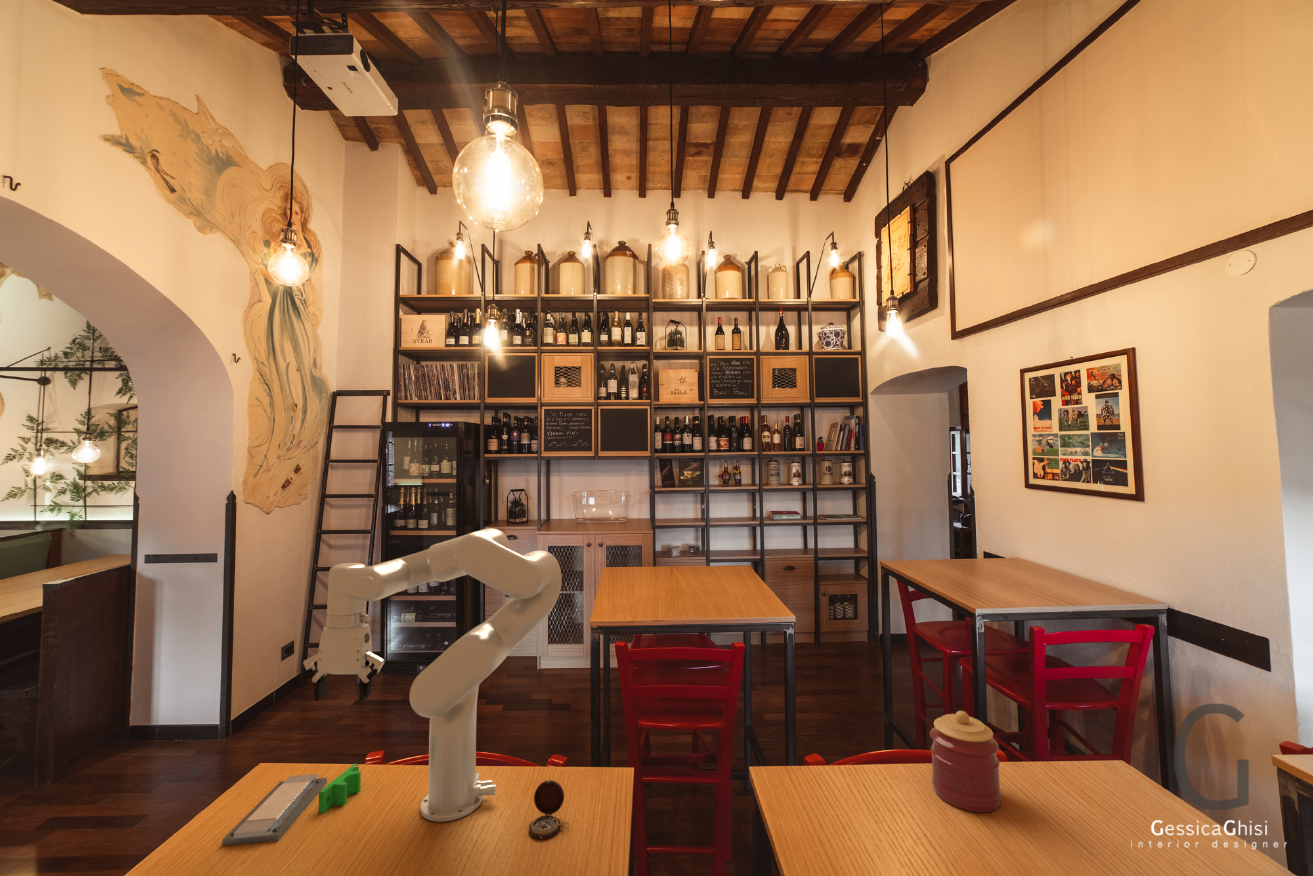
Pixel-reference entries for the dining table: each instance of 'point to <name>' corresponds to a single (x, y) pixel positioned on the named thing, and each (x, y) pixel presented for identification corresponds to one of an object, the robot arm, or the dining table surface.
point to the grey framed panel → (276, 811)
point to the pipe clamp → (340, 789)
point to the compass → (547, 810)
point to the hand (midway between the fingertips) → (342, 698)
